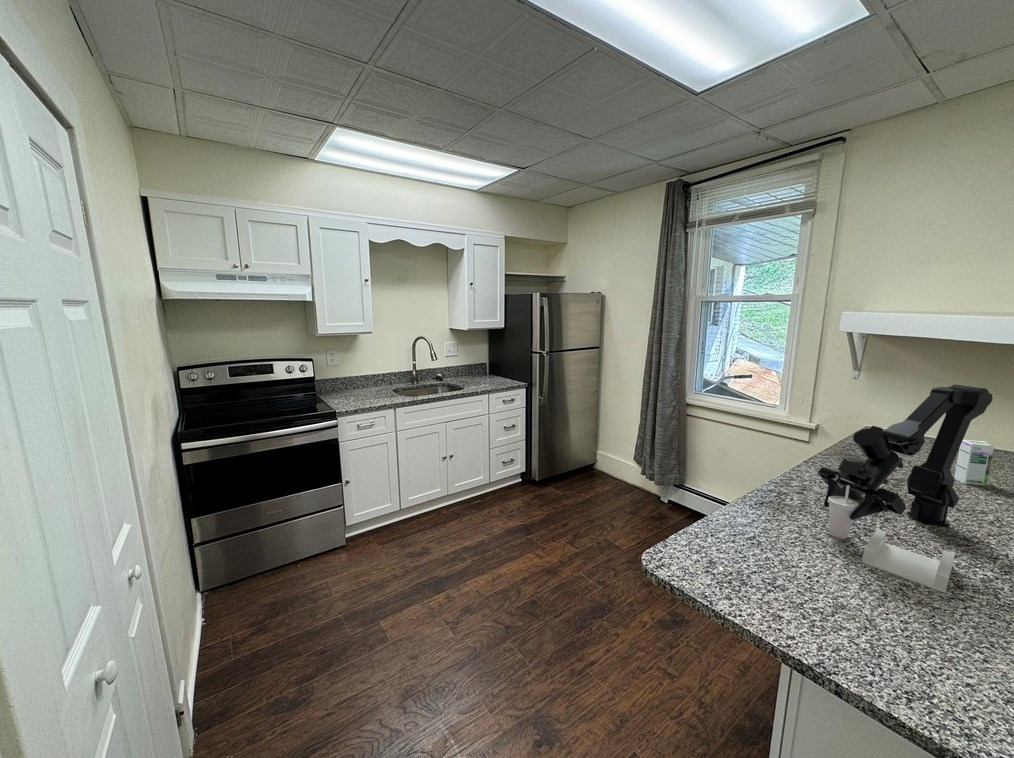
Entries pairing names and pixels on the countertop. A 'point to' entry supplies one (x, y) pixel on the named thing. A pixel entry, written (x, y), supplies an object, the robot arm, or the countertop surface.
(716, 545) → the countertop surface
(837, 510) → the smoothie
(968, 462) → the syrup box
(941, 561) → the sheet metal channel
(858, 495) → the supplement bottle
